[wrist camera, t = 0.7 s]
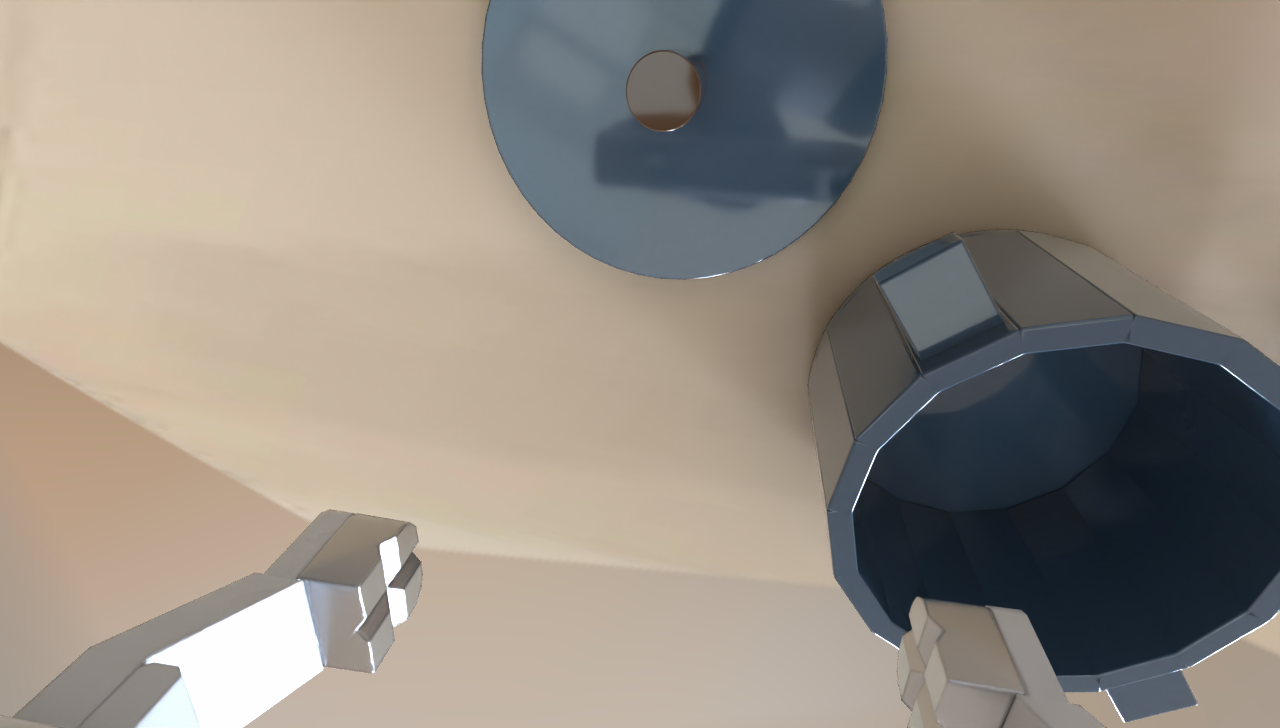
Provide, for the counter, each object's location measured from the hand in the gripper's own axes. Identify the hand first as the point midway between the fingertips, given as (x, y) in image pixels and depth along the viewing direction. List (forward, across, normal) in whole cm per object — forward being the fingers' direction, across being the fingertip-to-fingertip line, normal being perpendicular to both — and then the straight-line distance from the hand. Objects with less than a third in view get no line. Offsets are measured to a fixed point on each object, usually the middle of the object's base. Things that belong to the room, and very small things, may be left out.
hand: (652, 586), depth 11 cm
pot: (+19, -11, +5) cm, 23 cm away
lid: (+18, +2, -6) cm, 20 cm away
